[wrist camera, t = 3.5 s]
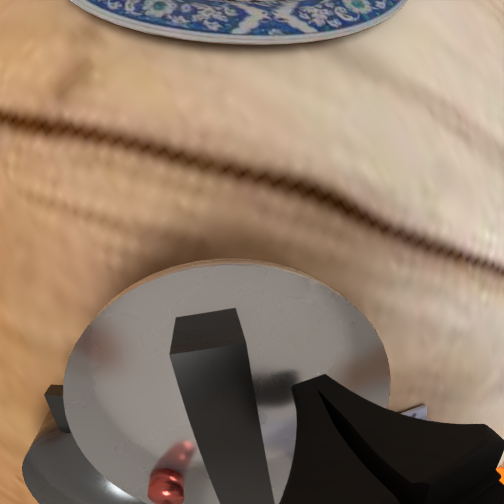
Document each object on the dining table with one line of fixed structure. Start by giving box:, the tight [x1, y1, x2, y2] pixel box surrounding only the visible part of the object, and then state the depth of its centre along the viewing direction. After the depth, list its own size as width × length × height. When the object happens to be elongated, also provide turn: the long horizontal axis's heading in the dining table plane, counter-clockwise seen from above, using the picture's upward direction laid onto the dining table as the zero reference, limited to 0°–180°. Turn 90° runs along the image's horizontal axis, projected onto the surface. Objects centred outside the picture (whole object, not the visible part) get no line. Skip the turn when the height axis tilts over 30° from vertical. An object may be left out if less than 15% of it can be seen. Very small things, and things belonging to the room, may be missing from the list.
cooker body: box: [22, 385, 147, 504], centre depth 16 cm, size 16×18×5 cm
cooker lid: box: [63, 258, 390, 504], centre depth 11 cm, size 16×14×4 cm
